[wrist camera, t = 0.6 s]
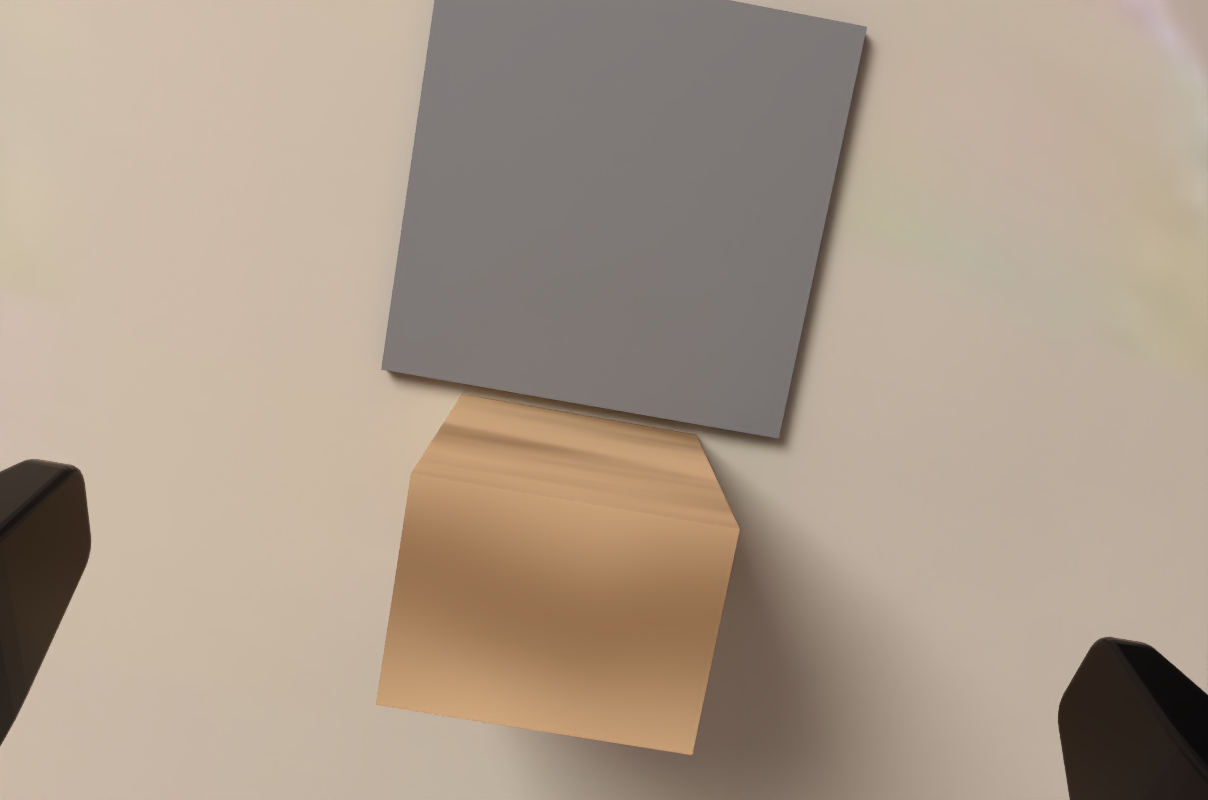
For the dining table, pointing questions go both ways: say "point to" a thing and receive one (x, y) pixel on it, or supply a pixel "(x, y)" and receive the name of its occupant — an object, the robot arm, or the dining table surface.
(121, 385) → the dining table surface
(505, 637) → the wooden block
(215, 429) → the dining table surface
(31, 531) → the robot arm
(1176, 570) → the dining table surface
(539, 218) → the mat
